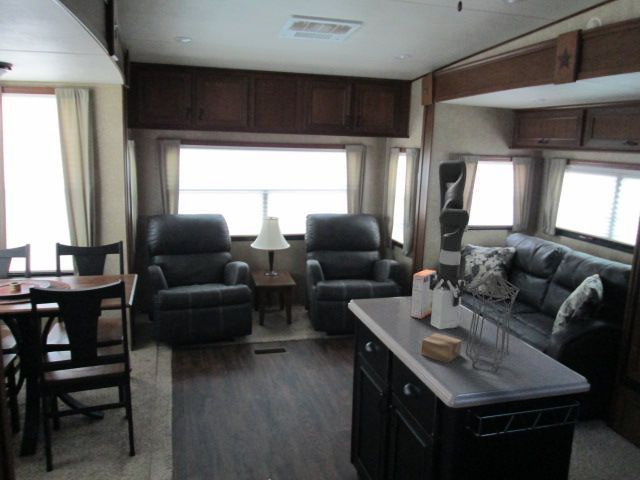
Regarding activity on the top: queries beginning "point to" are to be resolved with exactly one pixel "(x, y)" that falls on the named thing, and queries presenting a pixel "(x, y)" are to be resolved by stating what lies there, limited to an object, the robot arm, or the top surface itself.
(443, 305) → the skincare box
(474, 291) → the geometric lantern
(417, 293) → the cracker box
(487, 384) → the top surface
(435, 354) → the light brown block
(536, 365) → the top surface
